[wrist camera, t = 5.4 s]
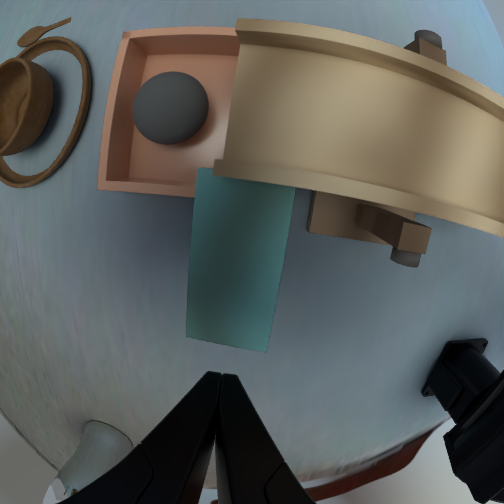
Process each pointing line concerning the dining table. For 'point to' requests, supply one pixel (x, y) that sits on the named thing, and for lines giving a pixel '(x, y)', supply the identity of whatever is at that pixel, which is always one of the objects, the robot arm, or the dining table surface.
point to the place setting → (34, 101)
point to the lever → (330, 159)
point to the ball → (170, 108)
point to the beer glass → (89, 460)
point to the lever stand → (376, 214)
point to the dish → (127, 85)
